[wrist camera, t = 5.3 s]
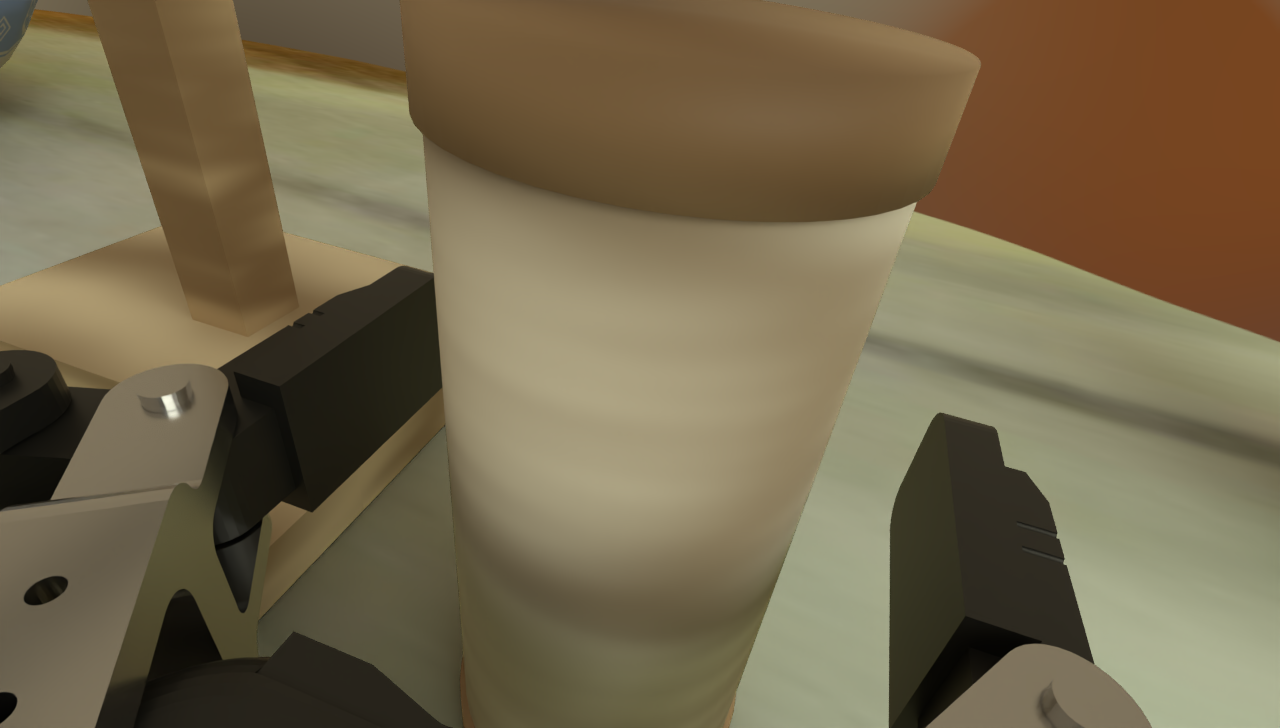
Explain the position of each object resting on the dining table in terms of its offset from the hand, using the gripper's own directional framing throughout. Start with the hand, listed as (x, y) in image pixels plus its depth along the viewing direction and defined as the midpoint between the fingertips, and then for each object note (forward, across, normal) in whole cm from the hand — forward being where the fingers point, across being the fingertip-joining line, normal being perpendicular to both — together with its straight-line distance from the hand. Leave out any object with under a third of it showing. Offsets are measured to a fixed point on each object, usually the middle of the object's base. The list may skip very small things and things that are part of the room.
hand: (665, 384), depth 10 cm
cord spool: (-2, 0, +6) cm, 7 cm away
